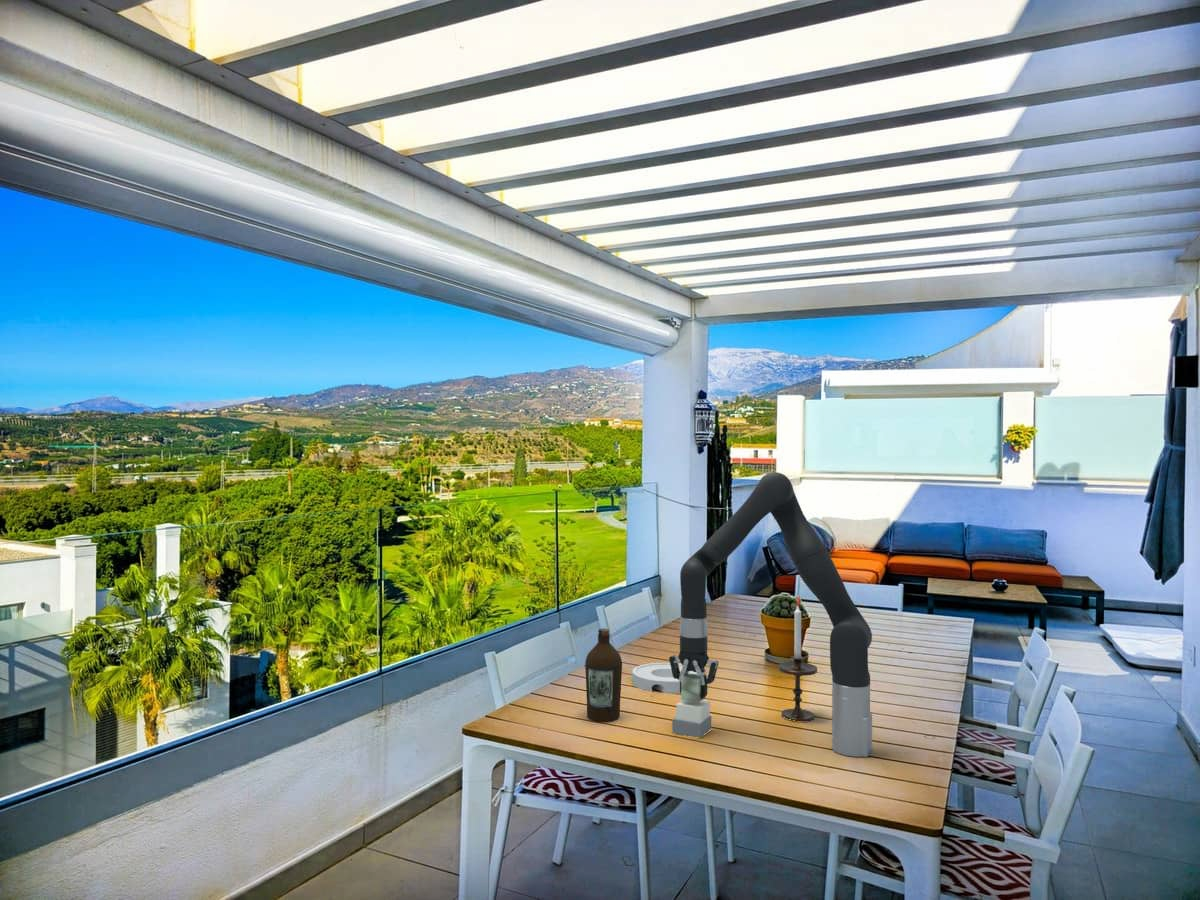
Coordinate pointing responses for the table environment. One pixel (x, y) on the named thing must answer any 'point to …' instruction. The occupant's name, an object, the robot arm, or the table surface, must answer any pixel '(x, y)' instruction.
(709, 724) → the slate base block
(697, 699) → the sage block
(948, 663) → the table surface
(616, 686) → the olive oil
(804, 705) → the table surface
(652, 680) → the ashtray
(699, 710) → the cream top block
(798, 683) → the candlestick
